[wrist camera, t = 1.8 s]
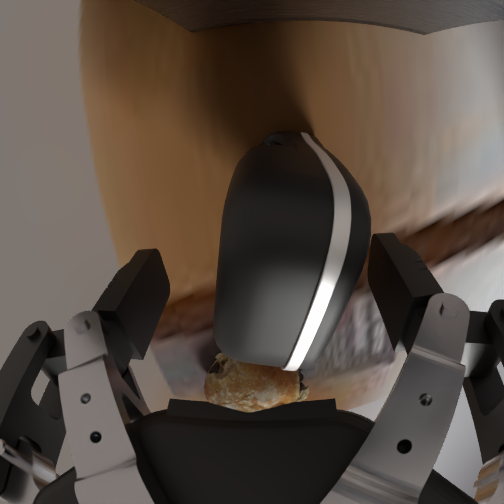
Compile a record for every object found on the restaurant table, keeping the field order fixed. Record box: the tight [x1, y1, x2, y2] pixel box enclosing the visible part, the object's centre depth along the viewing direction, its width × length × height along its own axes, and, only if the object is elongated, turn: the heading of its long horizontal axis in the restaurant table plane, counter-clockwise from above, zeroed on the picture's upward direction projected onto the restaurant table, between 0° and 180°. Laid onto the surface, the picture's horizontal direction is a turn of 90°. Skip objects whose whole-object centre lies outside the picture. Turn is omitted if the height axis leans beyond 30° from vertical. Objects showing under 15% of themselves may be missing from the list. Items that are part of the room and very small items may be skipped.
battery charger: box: [213, 131, 371, 371], centre depth 12 cm, size 7×4×11 cm, turn 172°
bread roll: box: [204, 352, 309, 412], centre depth 26 cm, size 10×10×8 cm
